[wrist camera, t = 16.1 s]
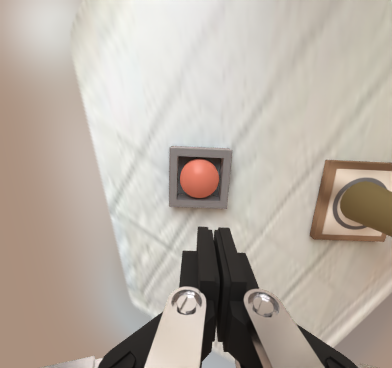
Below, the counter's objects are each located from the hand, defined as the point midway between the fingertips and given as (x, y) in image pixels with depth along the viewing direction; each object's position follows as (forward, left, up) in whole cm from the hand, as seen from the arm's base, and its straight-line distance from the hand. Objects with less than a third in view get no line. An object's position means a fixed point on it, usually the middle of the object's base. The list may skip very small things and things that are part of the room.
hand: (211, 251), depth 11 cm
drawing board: (+3, +23, -20) cm, 31 cm away
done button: (0, 0, -19) cm, 19 cm away
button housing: (0, 0, -20) cm, 20 cm away
